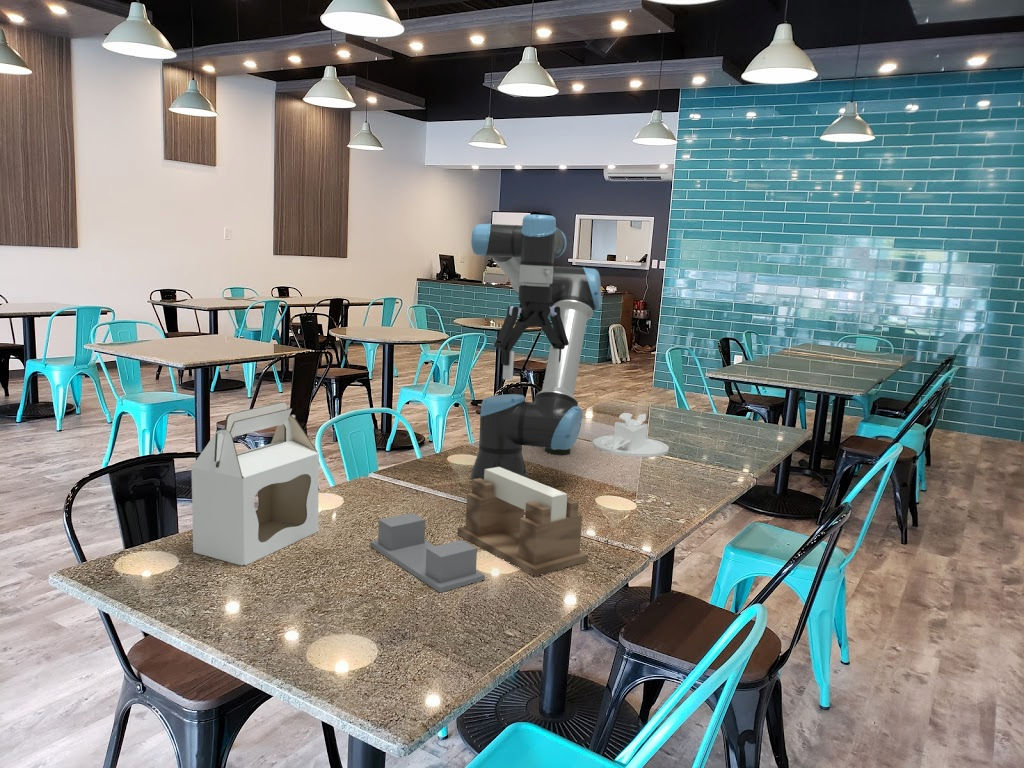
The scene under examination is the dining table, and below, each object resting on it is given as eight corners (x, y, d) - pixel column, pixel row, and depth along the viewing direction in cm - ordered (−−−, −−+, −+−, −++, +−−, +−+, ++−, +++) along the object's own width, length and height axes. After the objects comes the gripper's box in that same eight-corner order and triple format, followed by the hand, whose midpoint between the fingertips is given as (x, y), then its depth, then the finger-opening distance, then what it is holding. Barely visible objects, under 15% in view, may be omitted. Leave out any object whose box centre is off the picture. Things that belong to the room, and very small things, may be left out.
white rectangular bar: (483, 491, 165) (484, 469, 164) (498, 488, 168) (499, 466, 167) (550, 521, 148) (552, 497, 148) (565, 518, 151) (567, 493, 150)
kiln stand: (370, 546, 156) (370, 518, 155) (412, 536, 163) (412, 509, 162) (439, 592, 137) (441, 561, 136) (484, 580, 143) (486, 549, 142)
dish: (592, 436, 265) (595, 404, 263) (665, 442, 262) (668, 410, 260) (591, 454, 241) (594, 419, 239) (672, 460, 238) (675, 425, 236)
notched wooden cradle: (457, 534, 165) (459, 479, 163) (508, 523, 174) (510, 470, 172) (535, 577, 145) (538, 514, 143) (587, 561, 154) (591, 502, 152)
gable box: (243, 567, 143) (241, 422, 139) (191, 553, 149) (188, 412, 144) (319, 531, 163) (320, 403, 159) (271, 520, 169) (271, 395, 164)
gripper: (502, 285, 161) (497, 383, 165) (587, 286, 177) (581, 377, 180) (481, 283, 167) (477, 378, 170) (565, 284, 182) (559, 372, 186)
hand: (530, 378), depth 175 cm, fingers open, 13 cm apart
